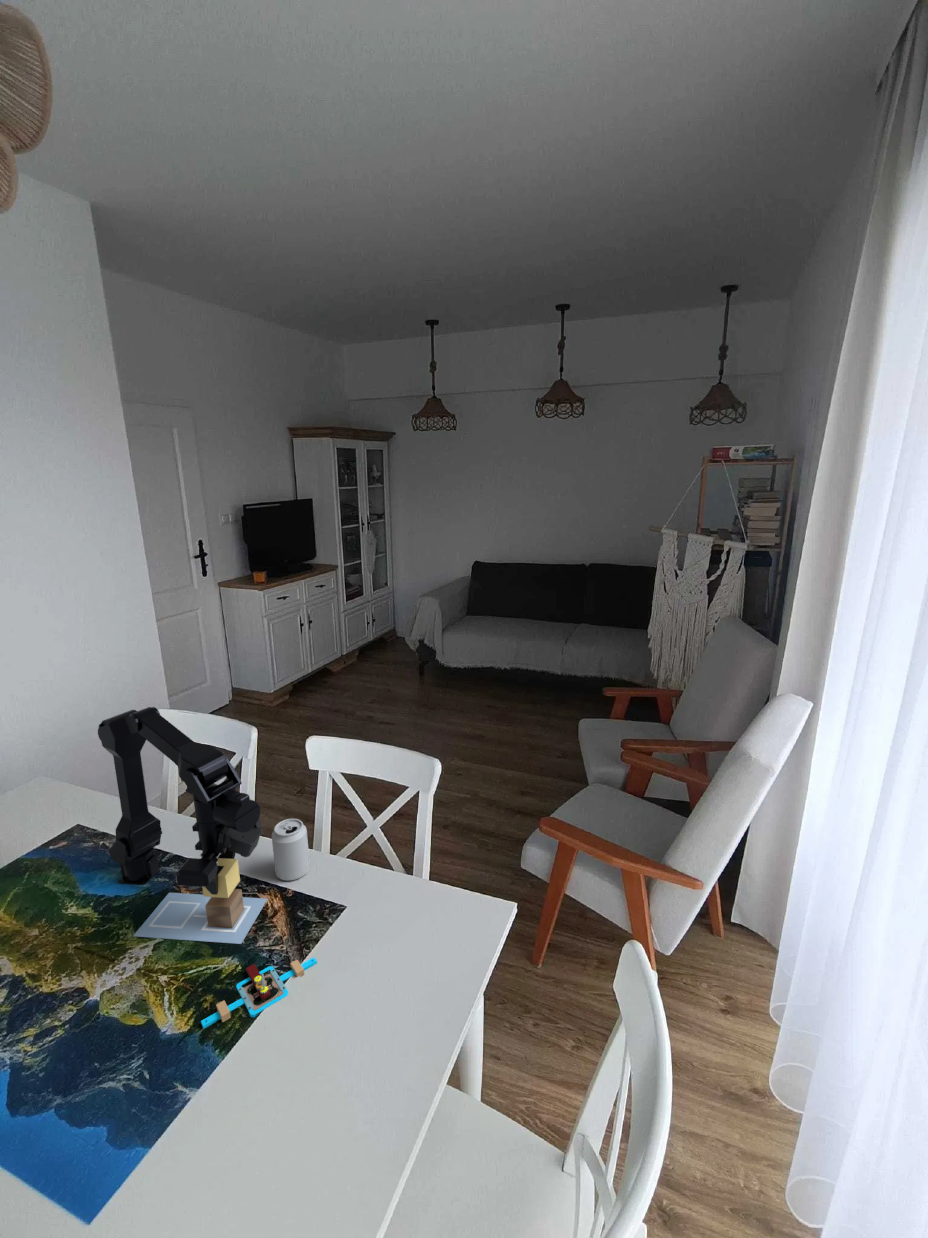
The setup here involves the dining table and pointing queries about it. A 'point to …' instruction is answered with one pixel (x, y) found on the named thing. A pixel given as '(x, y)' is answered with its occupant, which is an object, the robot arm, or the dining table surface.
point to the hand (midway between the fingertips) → (221, 884)
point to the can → (290, 849)
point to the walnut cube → (225, 910)
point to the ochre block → (226, 878)
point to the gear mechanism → (258, 991)
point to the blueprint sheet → (196, 920)
